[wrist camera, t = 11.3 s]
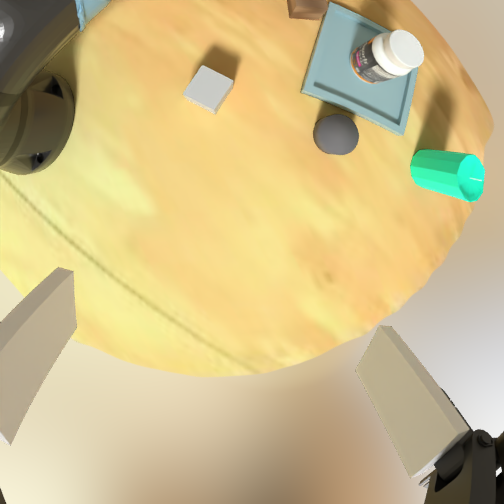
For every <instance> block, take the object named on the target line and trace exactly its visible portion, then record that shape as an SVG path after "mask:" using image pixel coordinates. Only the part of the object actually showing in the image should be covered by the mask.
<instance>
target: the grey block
mask: <svg viewBox="0 0 504 504" xmlns="http://www.w3.org/2000/svg"><path fill="white" fill-rule="evenodd" d="M233 82H234V81H233V80H231V79H229V78H228V77H226V76H224V75H222V74H220V73H218V72H216V71H214V70H212V69H210V68H208V67H206V66H203V65H202V66H201V67H200V69H199V70H198V72H197V73H196V75H195V76H194V78H193V79H192V81H191V82H190V84H189V85H188V87H187V88H186V90H185V91H184V93H183V95H184V96H185V98H186V99H187V100H188V101H190V102H192V103H194V104H196V105H198V106H200V107H202V108H204V109H206V110H208V111H210V112H211V113H213V114H216V113H217V111H218V110H219V108H220V107H221V105H222V104H223V102H224V100H225V99H226V97H227V96H228V94H229V93H230V91H231V90H232V88H233Z"/></svg>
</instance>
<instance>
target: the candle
mask: <svg viewBox="0 0 504 504" xmlns="http://www.w3.org/2000/svg"><path fill="white" fill-rule="evenodd" d="M410 168H411V176H412V178H413V179H414V181H415V183H416V184H417V185H419V186H421V187H423V188H425V189H429V190H432V191H436V192H439V193H443V194H446V195H449V196H452V197H456V198H459V199H462V200H465V201H468V202H473V201H477V200H478V199H479V197H480V196H481V194H482V193H483V184H484V174H485V169H484V167H483V165H482V164H481V162H480V160H479V159H478V158H477V157H476V156H475V155H473V154H466V153H458V152H450V151H440V150H430V149H424V150H419V151H418V152H417V153H416V154H415V155H414V156H413V158H412V162H411V165H410Z"/></svg>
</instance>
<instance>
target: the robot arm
mask: <svg viewBox="0 0 504 504" xmlns="http://www.w3.org/2000/svg"><path fill="white" fill-rule="evenodd" d="M110 1H111V0H0V169H1V170H4V171H7V172H10V173H13V174H17V175H27V174H32V173H36V172H39V171H41V170H43V169H45V168H47V167H48V166H49V165H50V164H52V163H53V162H54V161H55V159H56V158H57V157H58V156H59V154H60V153H61V151H62V150H63V148H64V146H65V144H66V142H67V140H68V138H69V135H70V132H71V128H72V124H73V119H74V100H73V95H72V91H71V89H70V87H69V85H68V83H67V82H66V81H65V80H64V79H63V78H62V77H61V76H59V75H57V74H55V73H52V72H49V71H44V70H42V69H43V68H44V67H45V66H46V65H47V64H48V62H49V61H50V60H51V59H52V58H53V57H54V56H55V55H56V54H57V53H58V52H59V51H60V50H61V49H62V48H63V47H64V46H65V45H66V44H67V43H68V42H69V41H70V40H71V39H72V38H73V37H74V36H75V35H76V34H77V33H78V32H79V31H80V32H81V31H82V30H83V29H84V28H85V25H86V24H87V23H88V22H89V21H90V20H92V19H93V18H94V17H95V16H96V15H97V14H98V13H99V12H100V11H101V10H103V9H104V8H105V7H106V6H107V5H108V4H109V3H110ZM76 328H77V322H76V311H75V297H74V273H73V271H70V270H67V269H63V268H59V267H58V268H57V269H55V270H54V271H53V272H52V273H51V274H50V275H49V276H48V277H46V278H45V279H44V280H43V281H42V282H41V283H40V284H39V285H38V286H37V287H36V288H35V289H33V290H32V291H31V292H30V293H29V294H28V295H27V296H26V297H25V298H24V299H23V300H22V301H21V302H20V303H19V304H18V305H17V306H16V307H15V308H14V309H13V310H12V311H11V312H10V313H9V314H8V315H7V316H6V317H5V318H4V319H3V320H2V322H0V440H2V441H3V442H5V443H7V444H8V445H10V446H11V443H12V441H13V439H14V437H15V435H16V433H17V431H18V429H19V427H20V425H21V422H22V420H23V418H24V417H25V414H26V413H27V411H28V409H29V407H30V405H31V403H32V401H33V399H34V397H35V396H36V394H37V392H38V390H39V388H40V387H41V385H42V383H43V381H44V380H45V378H46V376H47V375H48V373H49V371H50V369H51V368H52V366H53V364H54V363H55V361H56V360H57V358H58V356H59V354H60V353H61V351H62V350H63V348H64V347H65V345H66V343H67V342H68V340H69V339H70V337H71V336H72V334H73V333H74V331H75V330H76ZM355 371H356V373H357V375H358V377H359V379H360V380H361V382H362V384H363V386H364V388H365V390H366V392H367V394H368V395H369V397H370V399H371V401H372V403H373V405H374V407H375V409H376V411H377V413H378V415H379V417H380V419H381V421H382V422H383V424H384V426H385V428H386V430H387V432H388V434H389V436H390V438H391V440H392V442H393V444H394V446H395V448H396V450H397V452H398V454H399V456H400V458H401V460H402V462H403V464H404V466H405V469H406V470H407V473H408V475H409V477H410V478H412V477H415V476H418V475H421V474H423V473H425V472H426V471H427V470H428V469H429V468H430V467H432V466H433V465H434V466H435V468H436V469H435V470H434V471H433V472H431V473H430V474H429V475H428V476H427V477H425V478H424V479H423V480H422V481H421V482H420V484H419V486H421V485H423V484H424V483H425V482H426V481H428V480H430V481H429V482H428V483H427V484H425V485H424V487H426V488H428V490H427V494H426V499H425V503H424V504H504V432H503V433H502V434H501V435H500V436H499V437H498V438H492V437H491V436H490V435H489V434H488V433H487V432H485V431H484V430H479V429H478V430H475V431H473V430H472V429H471V427H470V426H469V425H468V423H467V422H466V420H465V419H464V417H463V416H462V415H461V413H460V412H459V410H458V409H457V408H456V407H455V405H454V404H453V402H452V401H450V398H449V397H448V395H447V394H446V393H445V391H444V390H443V389H441V388H440V387H439V386H438V385H437V383H436V382H435V380H434V379H433V378H432V376H431V375H430V374H429V373H428V371H427V370H426V369H425V367H424V366H423V365H422V364H421V362H420V361H419V360H418V359H417V357H416V356H415V355H414V353H413V352H412V351H411V350H410V348H409V347H408V346H407V345H406V343H405V342H404V341H403V340H402V339H401V337H400V336H399V335H398V334H397V333H396V331H395V330H394V329H393V328H392V326H381V325H380V326H379V327H378V329H377V331H376V333H375V335H374V337H373V339H372V341H371V342H370V344H369V346H368V348H367V350H366V352H365V354H364V355H363V357H362V359H361V361H360V362H359V364H358V366H357V368H356V370H355ZM500 467H501V468H502V472H501V473H500V474H499V475H498V476H497V477H496V470H497V469H499V468H500ZM0 504H6V502H5V499H4V497H3V494H2V491H1V489H0Z"/></svg>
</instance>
